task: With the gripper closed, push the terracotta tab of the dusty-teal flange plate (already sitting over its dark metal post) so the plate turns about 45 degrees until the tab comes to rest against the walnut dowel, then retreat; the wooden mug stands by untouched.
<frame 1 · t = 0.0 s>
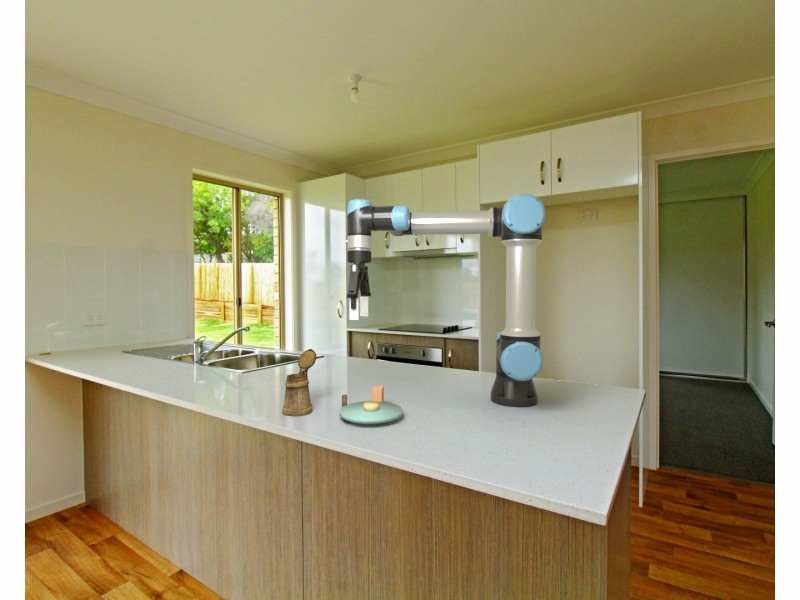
hand: (359, 318, 137), 28 cm above the counter, fingers open, 13 cm apart
wooden mug: (301, 410, 134), on the counter
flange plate: (372, 403, 127), point 4 cm above the counter, hinge at 0.0°
dowel: (344, 411, 132), on the counter
post: (371, 418, 126), on the counter
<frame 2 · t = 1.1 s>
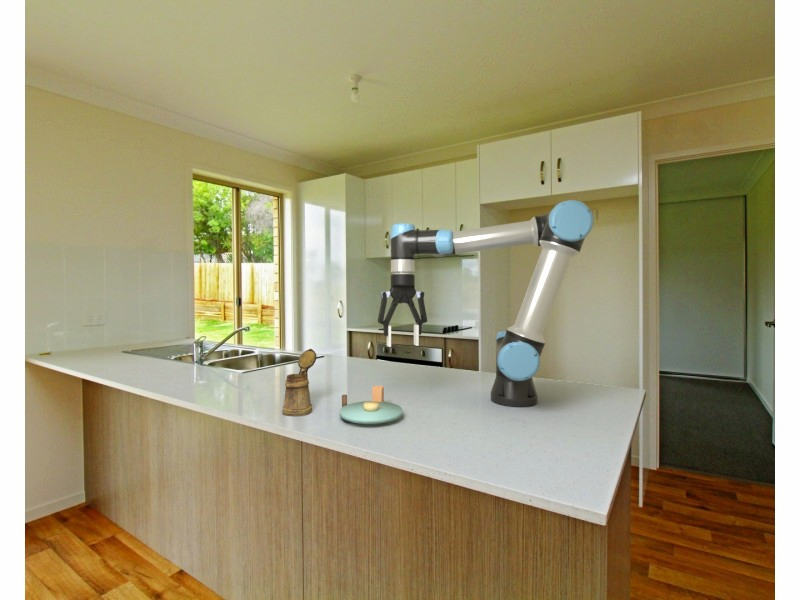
hand: (402, 345, 137), 19 cm above the counter, fingers open, 8 cm apart
nothing on the counter moved.
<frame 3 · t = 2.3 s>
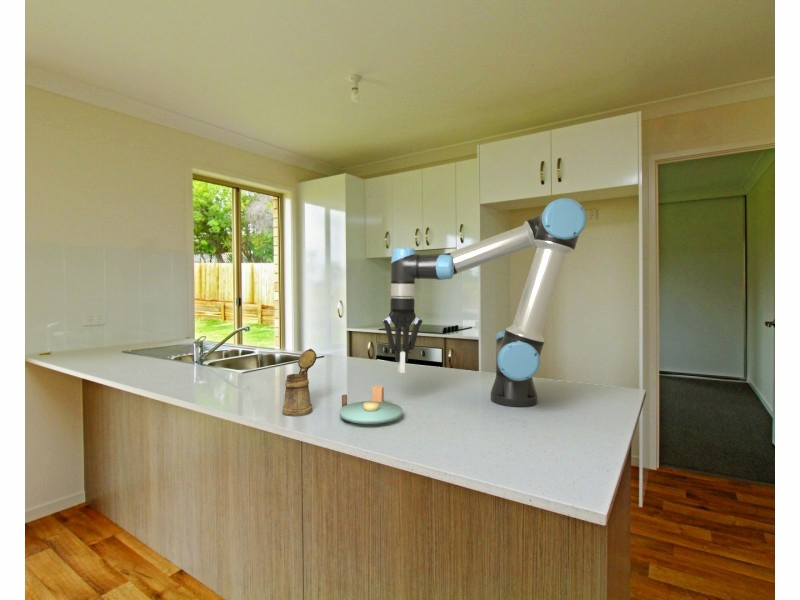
hand: (401, 371, 138), 11 cm above the counter, fingers closed
nothing on the counter moved.
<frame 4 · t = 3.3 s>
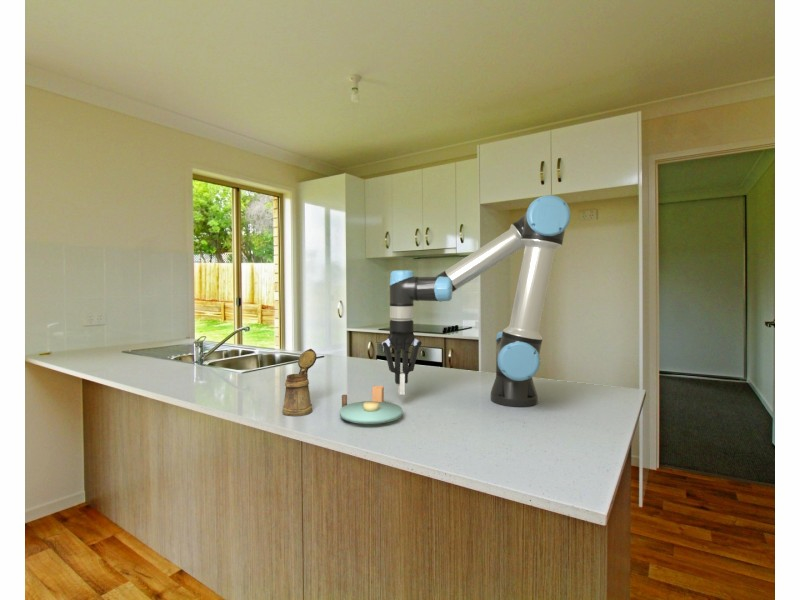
hand: (401, 393, 138), 4 cm above the counter, fingers closed
nothing on the counter moved.
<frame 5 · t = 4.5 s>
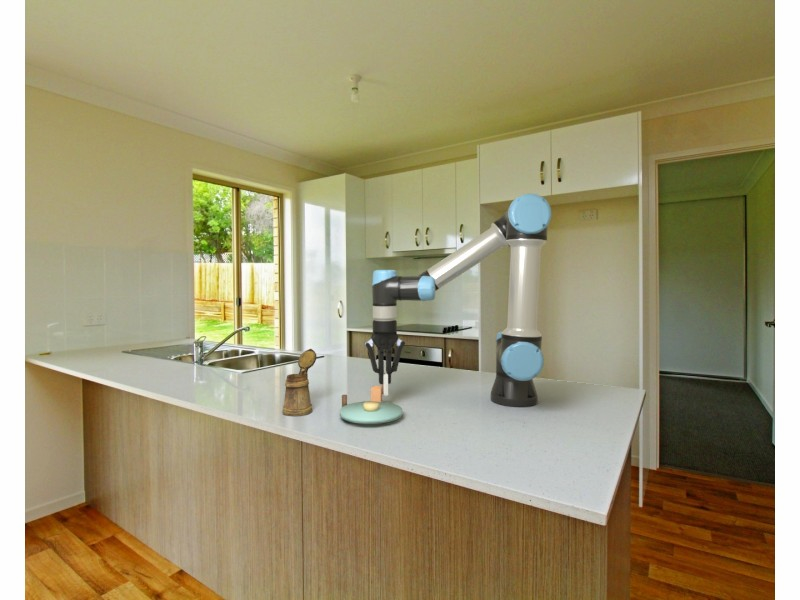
hand: (384, 394, 137), 4 cm above the counter, fingers closed
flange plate: (372, 403, 127), point 4 cm above the counter, hinge at 2.2°, touching gripper
everything else where it was.
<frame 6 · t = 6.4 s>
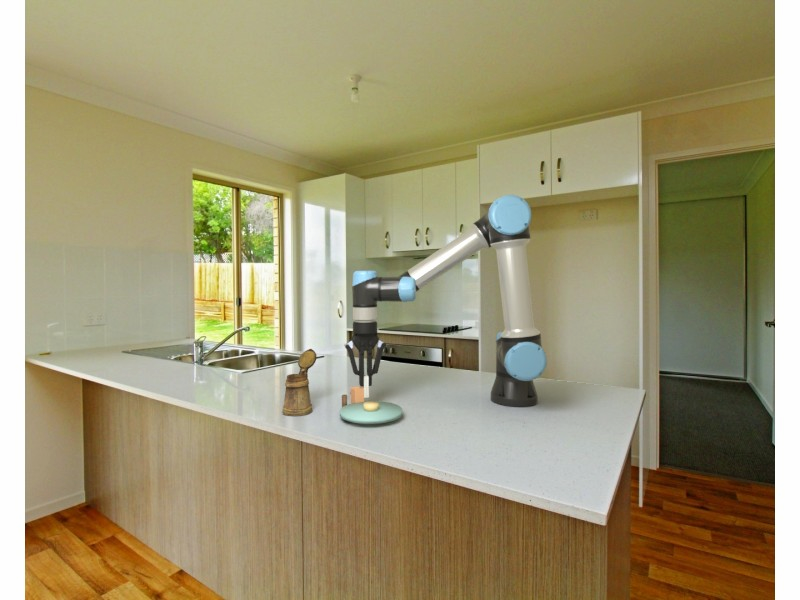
hand: (365, 396, 135), 4 cm above the counter, fingers closed
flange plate: (369, 403, 127), point 4 cm above the counter, hinge at 36.2°, touching gripper
everything else where it was.
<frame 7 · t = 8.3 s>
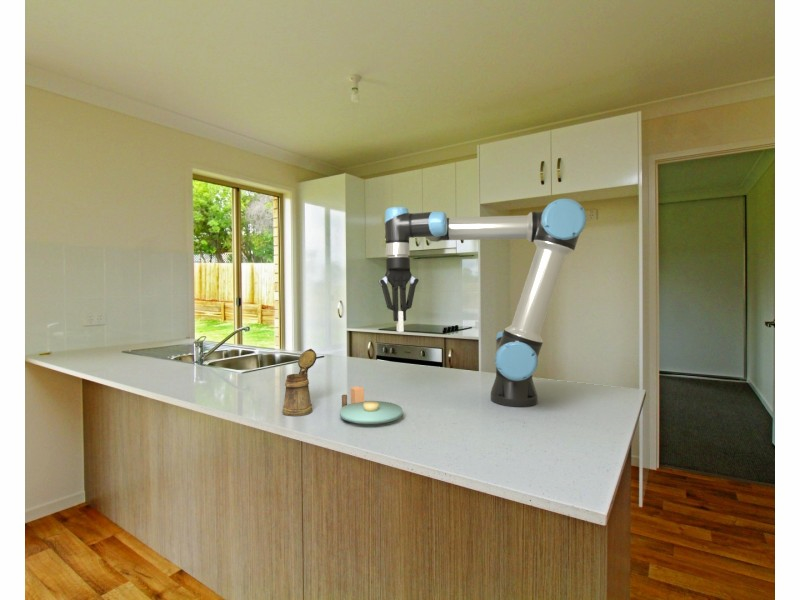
hand: (400, 331, 138), 24 cm above the counter, fingers closed
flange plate: (369, 403, 127), point 4 cm above the counter, hinge at 36.2°
everything else where it was.
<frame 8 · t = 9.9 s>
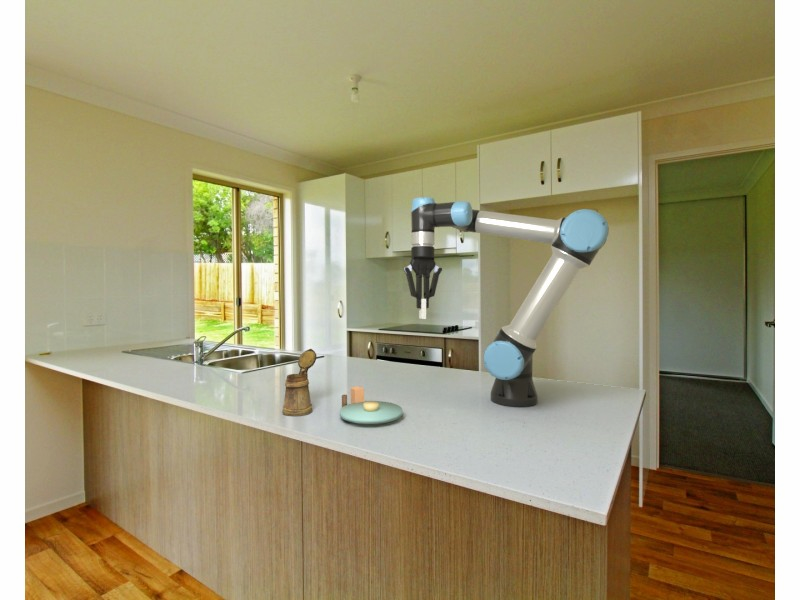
hand: (422, 318, 142), 27 cm above the counter, fingers closed
nothing on the counter moved.
at the end: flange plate at +36° (first picture: +0°) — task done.
